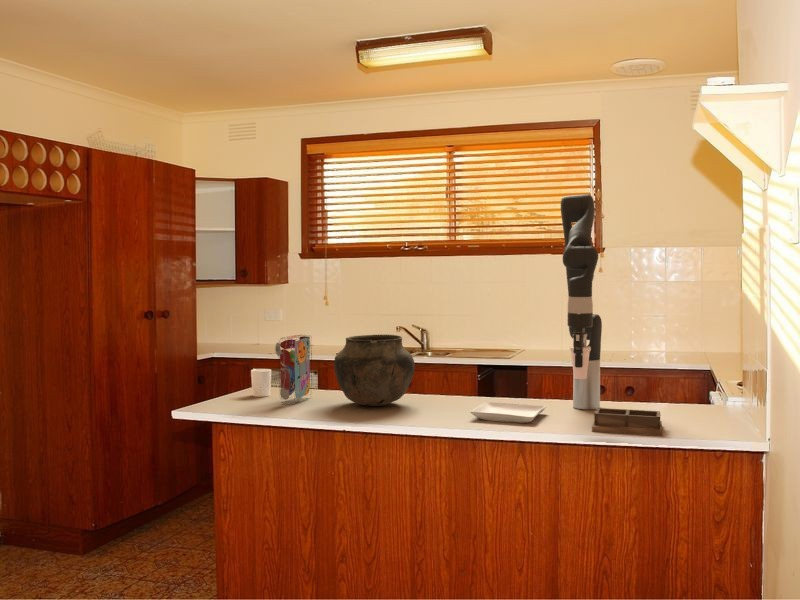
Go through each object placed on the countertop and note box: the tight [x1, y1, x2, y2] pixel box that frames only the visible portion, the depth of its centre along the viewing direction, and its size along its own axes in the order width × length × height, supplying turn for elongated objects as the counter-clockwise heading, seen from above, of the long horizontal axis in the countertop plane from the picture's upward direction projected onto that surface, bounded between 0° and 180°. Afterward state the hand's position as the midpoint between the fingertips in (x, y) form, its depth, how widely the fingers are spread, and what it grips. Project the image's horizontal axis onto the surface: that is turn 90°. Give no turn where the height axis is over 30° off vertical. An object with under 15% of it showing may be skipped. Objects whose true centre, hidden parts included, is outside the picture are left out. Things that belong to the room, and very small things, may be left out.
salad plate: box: [469, 401, 547, 424], centre depth 250 cm, size 21×21×3 cm
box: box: [274, 334, 313, 406], centre depth 277 cm, size 25×6×24 cm, turn 163°
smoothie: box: [569, 345, 591, 379], centre depth 232 cm, size 6×6×14 cm
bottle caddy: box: [591, 407, 663, 437], centre depth 231 cm, size 15×20×5 cm
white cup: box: [250, 368, 272, 398], centre depth 294 cm, size 8×8×10 cm
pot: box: [333, 334, 415, 407], centre depth 271 cm, size 29×32×25 cm
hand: (579, 365), depth 232 cm, fingers closed on smoothie, 5 cm apart
